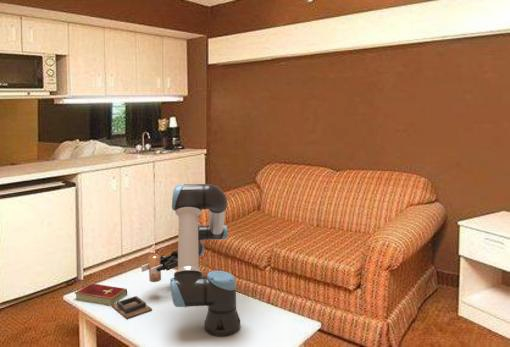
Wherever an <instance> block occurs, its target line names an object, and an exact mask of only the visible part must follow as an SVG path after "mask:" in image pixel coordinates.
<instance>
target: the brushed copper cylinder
mask: <svg viewBox="0 0 510 347" xmlns="http://www.w3.org/2000/svg"><path fill="white" fill-rule="evenodd" d="M160 256H161V255H160V254H158V253H153V254H149V255H148V263H149V270H148V274H149V275H148V277H149V280H148V281H149V282H150V283H158V282H160V281H161V280H162V270H161V271H159V272H157V273H154V274H151V272H150V269H151V268H153V267H156V266H158V265H161V263H160Z"/></svg>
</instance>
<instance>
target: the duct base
mask: <svg viewBox="0 0 510 347" xmlns="http://www.w3.org/2000/svg"><path fill="white" fill-rule="evenodd" d="M111 308H113V309H114V310H115V311H117V313H119V314H120V315H121V316H123V318H124V319H126V320H129V319H132V318H135V317H138V316H140V315H144V314H146V313H149V312H152V311H153V308H152V307H150V306H149V305H148V304H147V303H146V301H144V300H142V298H140V297H139V296H137V295H136V296H132V297H128V298H126V299H123V300H122V299H121V300H119V301H117V302H116V303H114V304H112V305H111Z"/></svg>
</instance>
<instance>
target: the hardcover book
mask: <svg viewBox="0 0 510 347" xmlns="http://www.w3.org/2000/svg"><path fill="white" fill-rule="evenodd" d="M74 294H75V300H77V299H78V300H79V301H84V302H91V303H96V304H101V305H109V306H112V304H115V303H117V302H119V301H121V300H122V299H123V298H124V297H126V296H128V290H127V288H123V287H117V286H111V285H105V284H100V283H99V284H97V283H89V284H87V285H86V286H84V287H82V288H80V289H78V290H77V291H75V292H74Z"/></svg>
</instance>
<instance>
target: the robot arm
mask: <svg viewBox="0 0 510 347" xmlns="http://www.w3.org/2000/svg"><path fill="white" fill-rule="evenodd" d="M171 200H172V202H171V208H172V211H174V214H175V215H176V216H177V217H178V227H177V228H178V231H177V232H178V235H177V238H178V239H177V241H178V242H177V250H174V251H172V252H171V254H170V255H167V256H165V255H163V254H162V255H160V263H161V265H158V266H156V267H153V268H151V269H150V272H151V274H154V273H157V272H159V271H161V272H162V271H170V270H172V269H175V268H177V270H176V271H174V273H173V277H171V278H170V279H169V280H170V281H169V282H170V292H171V299H172V303H173V304H172V305H174V306H175V307H176V308H190V307H207V308H208V309H207V314H206V317H205V320H204V321H203V322H204V323H203V324H204V325H203V328H204V331H205V332H206V333H207V334H208V335H210V336H214V337H228V336H232V335H234V334H236V333H238V332H239V331H240V330H241V319H240V315H239V313H238V311H237V291H236V290H237V284H236V283H237V281H236V280H237V279H236V277H235V276H234V275H233V274H232V273H231V272H227V271H225V270H213V271H209V272H208V273H207V276H203V272H202V271H201V269H199V265H200V264H199V257H201V256H203V254H204V253H205V245H204V244H203V243H202V242H201V241H207V240H208V241H211V240H213V241H214V240H226V239H227V238H228V237H229V236H228V234H229V233H228V231H229V230H228V225H226V224H225V218H226V217H225V216H226V214H225V213H226V209H227V208H228V198H227V195H226V194H225V192H224V190H222V189H221V188H219V187H218V186H216V185H214V184H211V183H197V184H196V183H195V184H194V183H193V184H189V183H184V184H177V185H175V186H174V188H173V193H172V199H171ZM202 210H208V212H209V213H208V214H209V225H201V223H200V222H199V216H200V215H202ZM140 267H141V272H142V273H143V272H146V271H149V262H148V263H146V264H142V265H141V266H140Z"/></svg>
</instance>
